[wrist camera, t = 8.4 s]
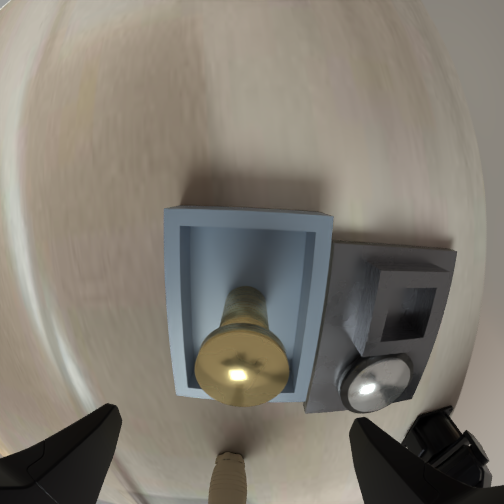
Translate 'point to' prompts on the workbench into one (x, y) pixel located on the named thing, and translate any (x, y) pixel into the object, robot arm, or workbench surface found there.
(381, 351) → the grey socket base
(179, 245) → the pin tray
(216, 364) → the pin
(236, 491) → the handle
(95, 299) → the workbench surface
